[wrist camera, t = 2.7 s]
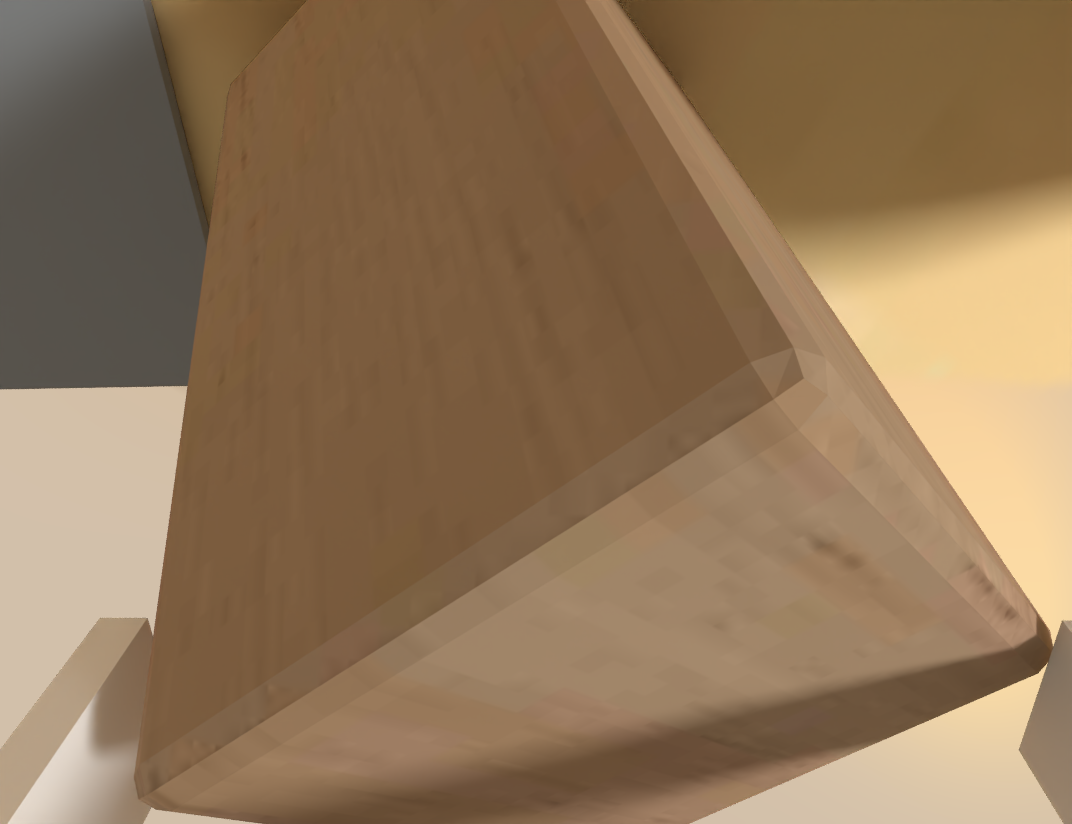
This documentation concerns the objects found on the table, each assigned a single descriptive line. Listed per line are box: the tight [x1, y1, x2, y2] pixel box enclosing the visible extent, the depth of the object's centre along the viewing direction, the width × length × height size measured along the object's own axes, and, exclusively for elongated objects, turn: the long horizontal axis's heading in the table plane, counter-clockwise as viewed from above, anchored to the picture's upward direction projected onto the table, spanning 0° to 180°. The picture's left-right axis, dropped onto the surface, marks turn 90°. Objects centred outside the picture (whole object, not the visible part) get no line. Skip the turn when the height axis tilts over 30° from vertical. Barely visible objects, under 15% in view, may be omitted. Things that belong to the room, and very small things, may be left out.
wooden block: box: [134, 0, 1053, 824], centre depth 18 cm, size 10×10×20 cm
